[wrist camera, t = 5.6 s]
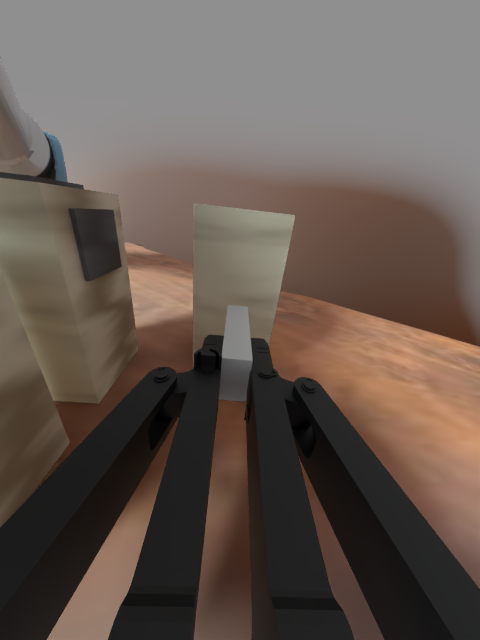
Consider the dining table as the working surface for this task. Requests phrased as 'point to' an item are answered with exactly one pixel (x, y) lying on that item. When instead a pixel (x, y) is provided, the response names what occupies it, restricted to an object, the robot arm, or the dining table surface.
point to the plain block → (237, 268)
